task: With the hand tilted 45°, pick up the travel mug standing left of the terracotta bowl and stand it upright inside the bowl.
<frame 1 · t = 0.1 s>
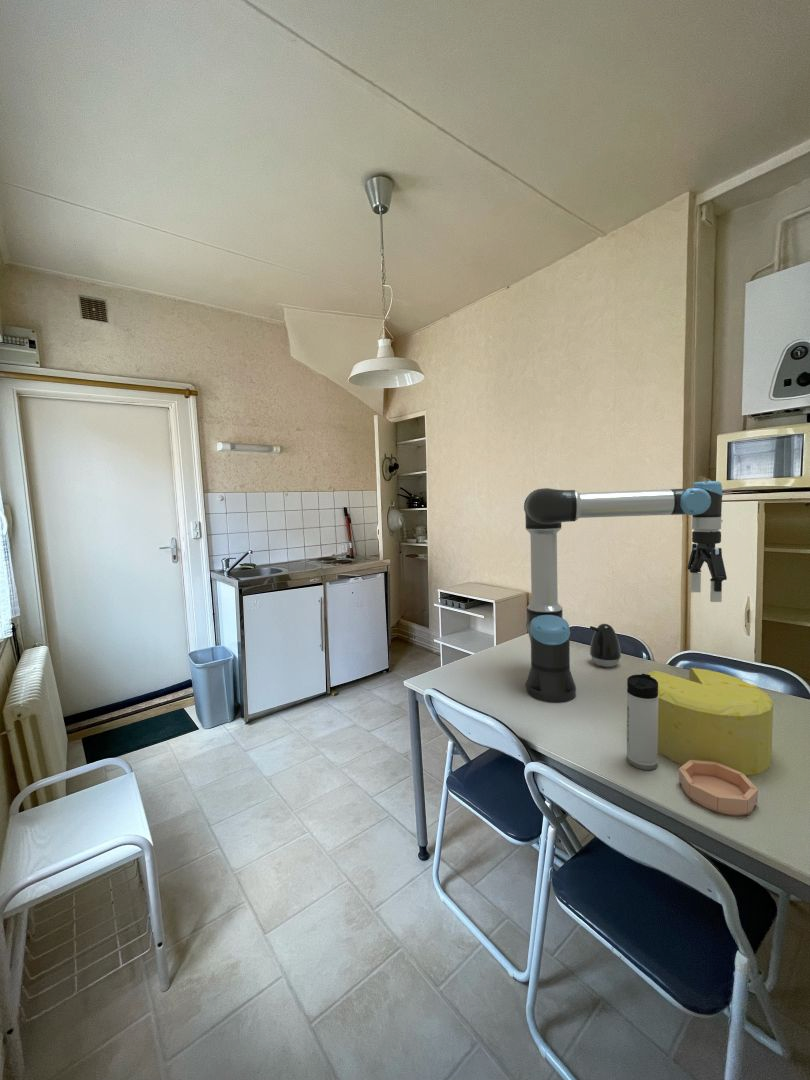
hand: (705, 596, 137), 28 cm above the table, tool pointing down, fingers open, 13 cm apart
bowl: (716, 794, 87), on the table
travel mug: (642, 762, 99), on the table
cheese: (701, 743, 106), on the table
pump dispenser: (604, 665, 156), on the table
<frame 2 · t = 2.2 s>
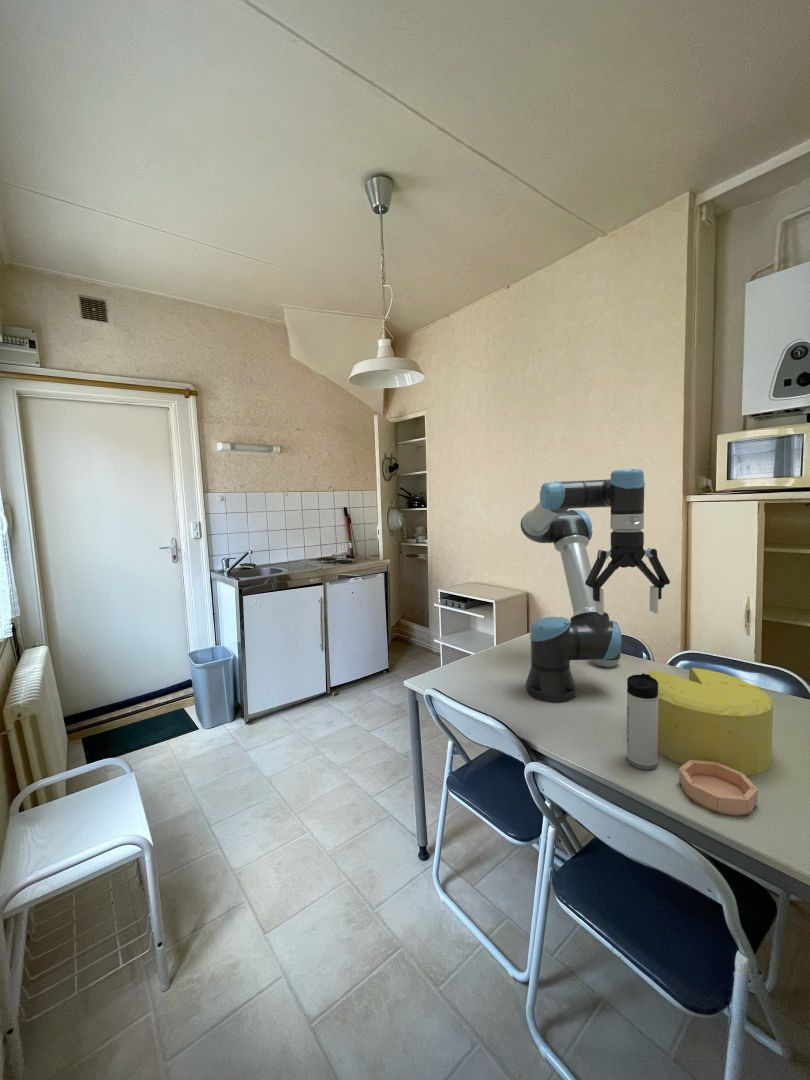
hand: (626, 612, 110), 31 cm above the table, tool pointing down, fingers open, 13 cm apart
nothing on the table moved.
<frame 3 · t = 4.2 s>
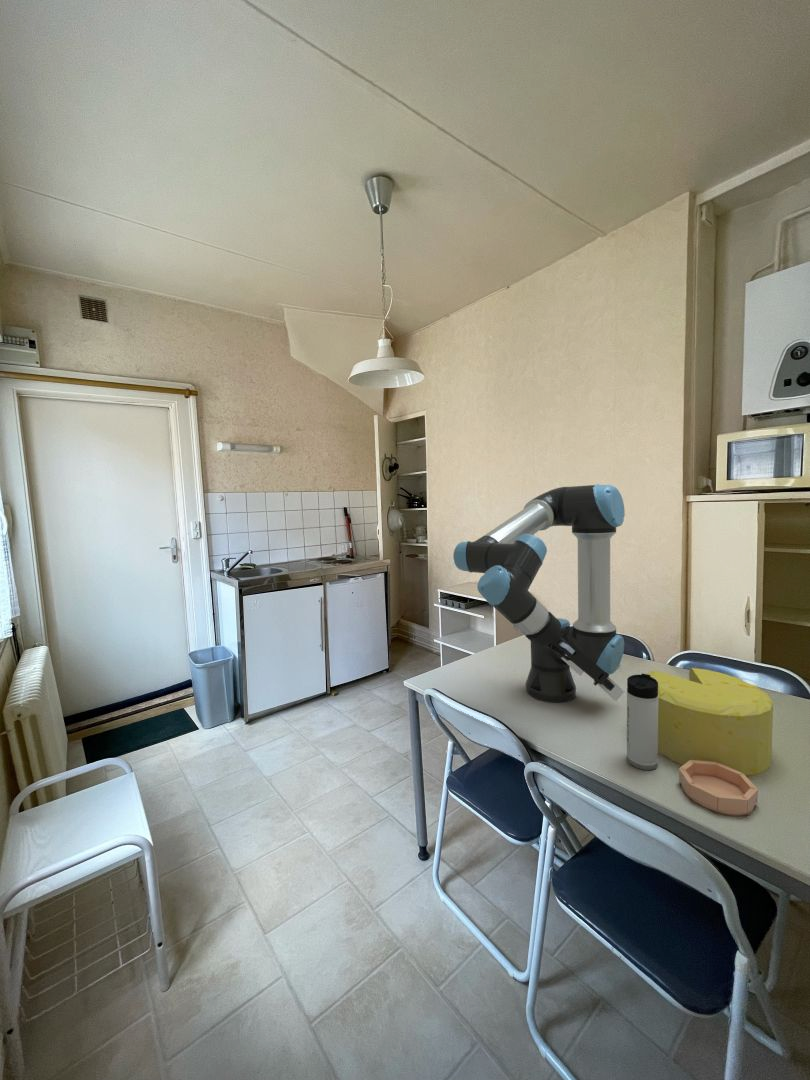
hand: (600, 682, 97), 20 cm above the table, tool tilted 45°, fingers open, 13 cm apart
nothing on the table moved.
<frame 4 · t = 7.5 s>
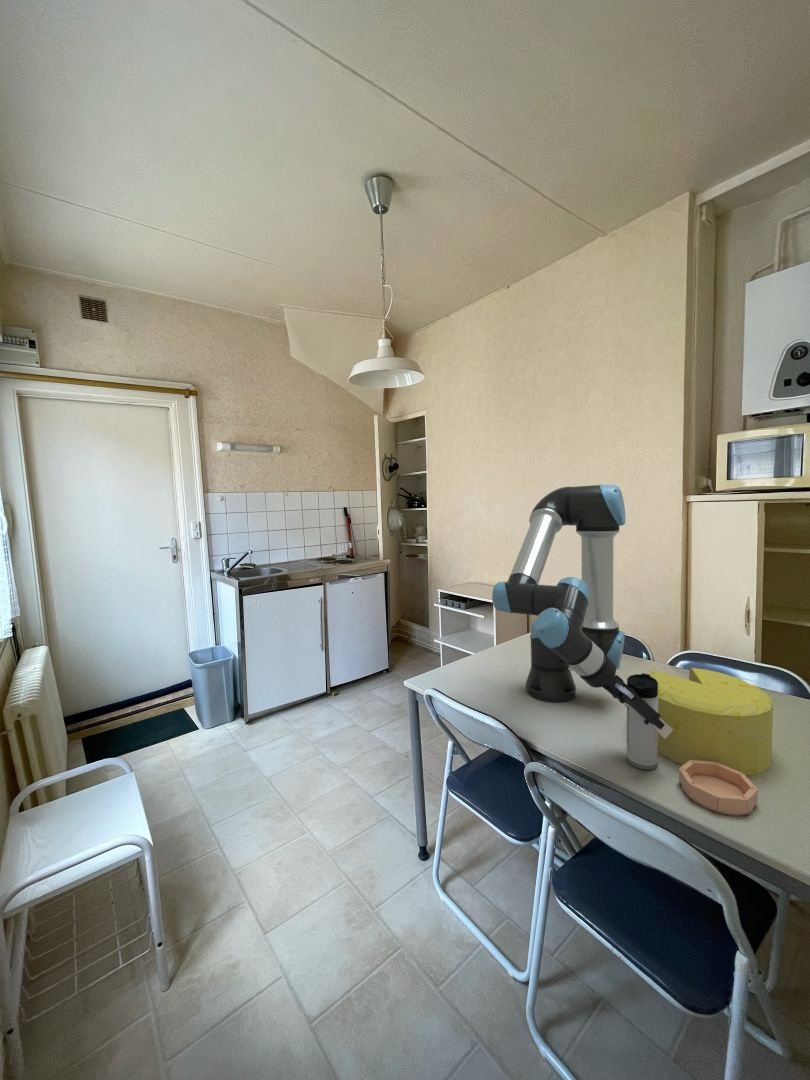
hand: (656, 725, 99), 8 cm above the table, tool tilted 45°, fingers closed on travel mug, 6 cm apart
travel mug: (642, 762, 99), on the table, touching gripper
everything else where it was.
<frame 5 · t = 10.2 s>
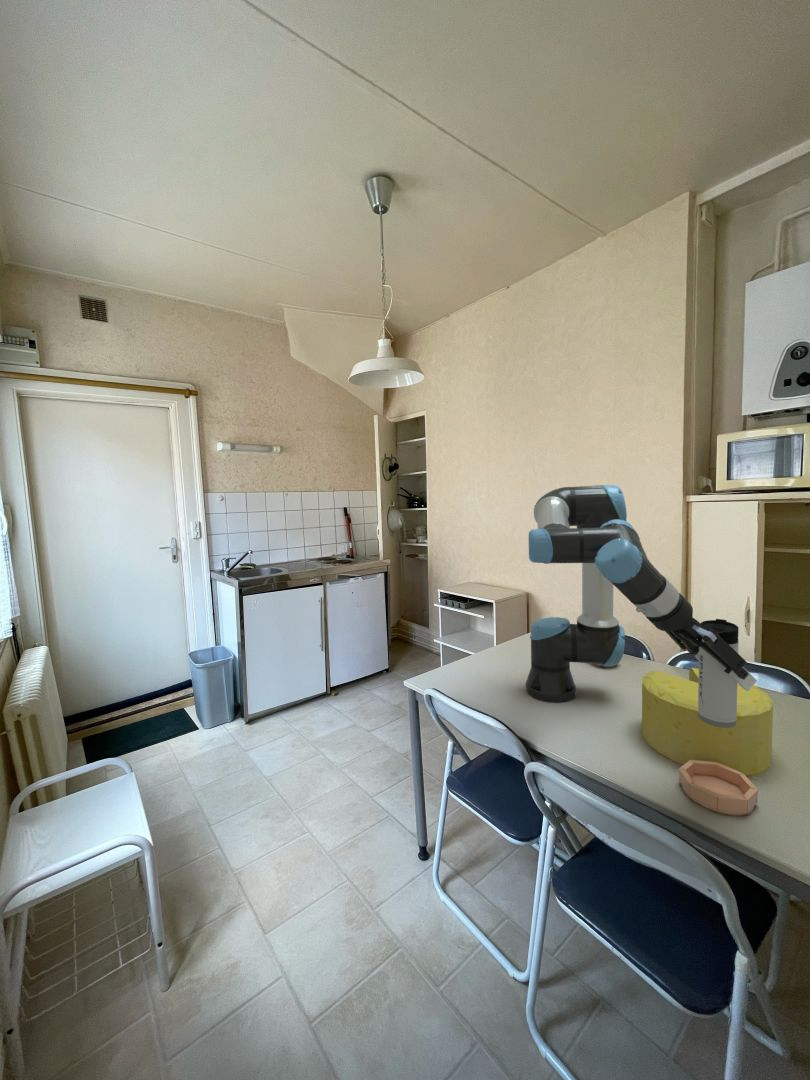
hand: (734, 677, 86), 24 cm above the table, tool tilted 45°, fingers closed on travel mug, 6 cm apart
travel mug: (716, 720, 86), point 16 cm above the table, touching gripper
everything else where it was.
when the fingers open (11 cm above the table, at t = 13.0 s): travel mug drops 2 cm, resting on bowl.
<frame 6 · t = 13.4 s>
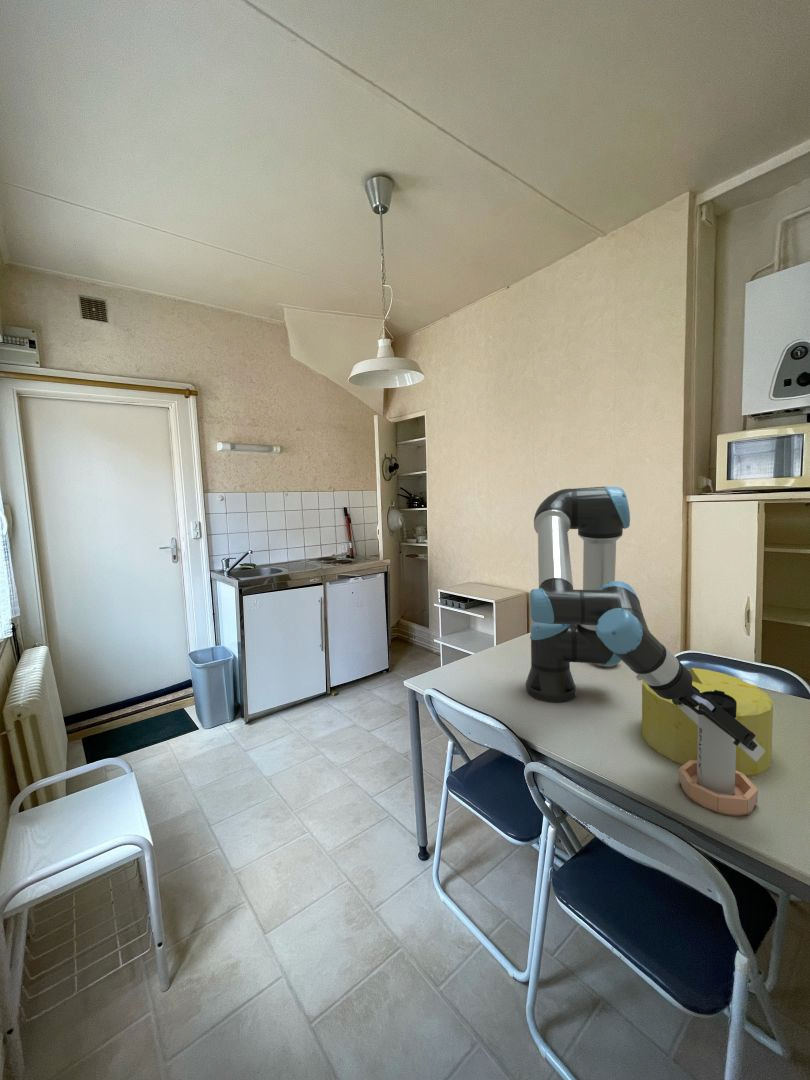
hand: (728, 737, 87), 12 cm above the table, tool tilted 45°, fingers open, 12 cm apart
travel mug: (715, 791, 87), point 1 cm above the table, touching bowl
everything else where it was.
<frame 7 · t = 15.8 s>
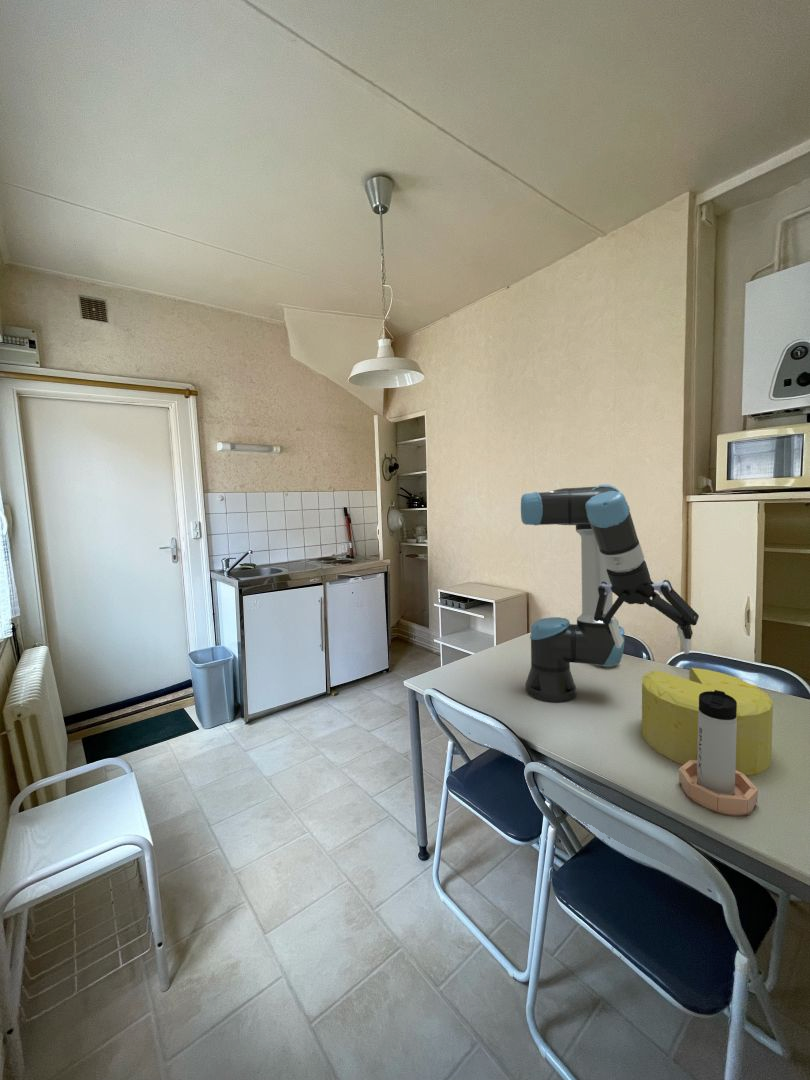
hand: (652, 647, 94), 28 cm above the table, tool tilted 25°, fingers open, 13 cm apart
nothing on the table moved.
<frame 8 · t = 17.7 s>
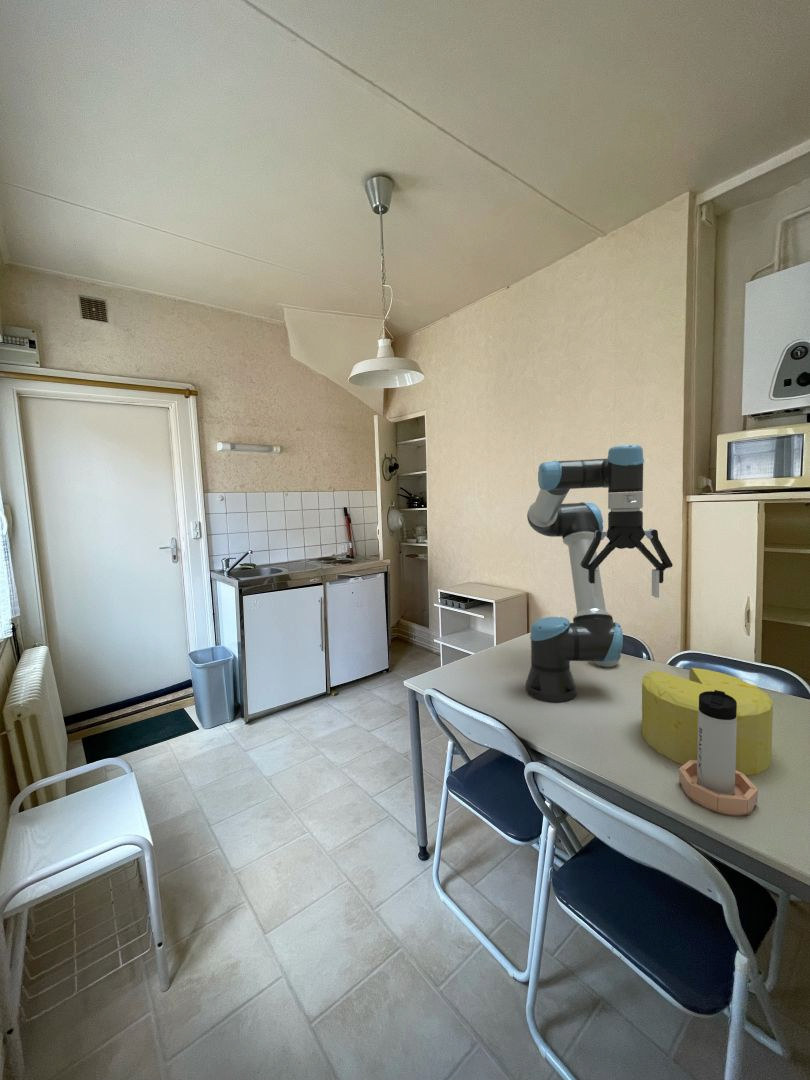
hand: (625, 596, 106), 37 cm above the table, tool pointing down, fingers open, 13 cm apart
nothing on the table moved.
at the end: travel mug 0.1 cm off-centre on the bowl, point 0.6 cm above the bowl's base; travel mug tilted 0°; the gripper is holding nothing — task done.
